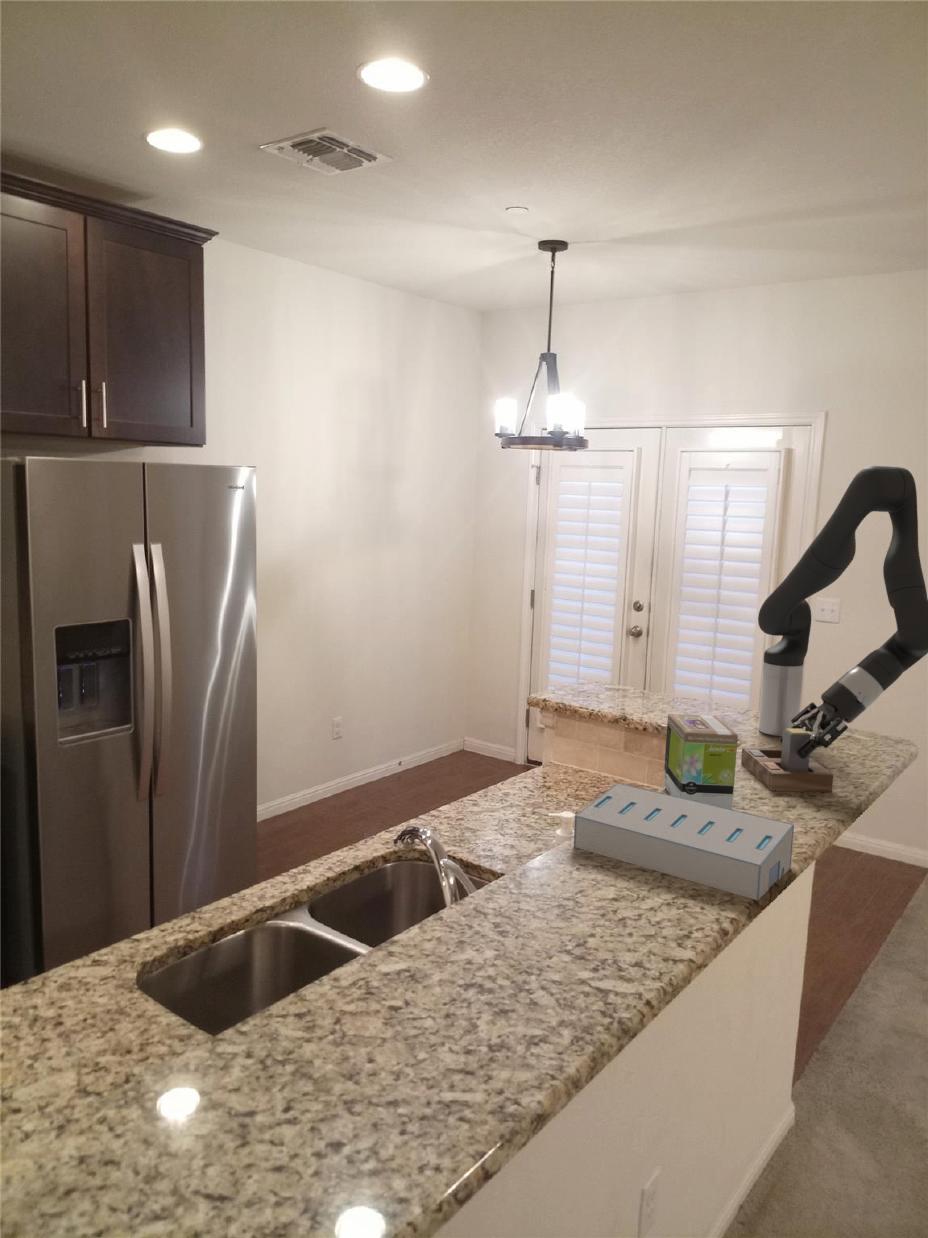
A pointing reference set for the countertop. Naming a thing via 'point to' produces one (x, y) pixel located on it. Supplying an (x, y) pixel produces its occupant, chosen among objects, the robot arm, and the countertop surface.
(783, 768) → the grey rectangular block
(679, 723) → the tea box
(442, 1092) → the countertop surface
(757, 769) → the dock
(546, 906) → the countertop surface
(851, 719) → the robot arm
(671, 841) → the multi-port usb hub
